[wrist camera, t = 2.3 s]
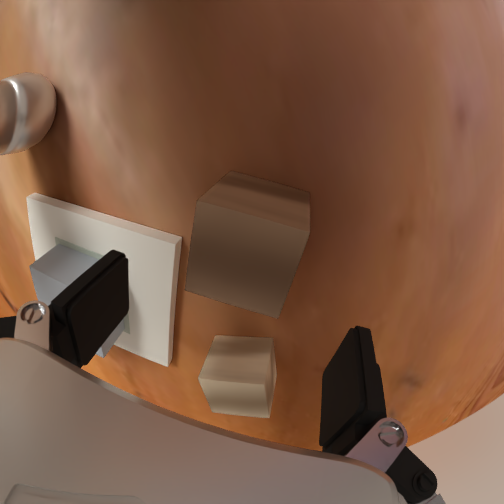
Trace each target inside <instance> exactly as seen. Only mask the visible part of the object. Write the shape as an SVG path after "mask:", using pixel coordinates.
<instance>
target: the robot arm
mask: <svg viewBox="0 0 504 504" xmlns="http://www.w3.org/2000/svg"><path fill="white" fill-rule="evenodd" d="M128 311H129V271H128V258H126V255H125V254H124V253H122V252H119V251H116V250H111V251H109V252H108V253H107V254H106V255H104V256H103V257H102V258H101V259H99V260H98V261H97V262H96V263H95V264H93V265H92V266H91V267H90V268H88V269H87V270H86V271H85V272H84V273H83V274H81V275H80V276H79V277H78V278H77V279H76V280H74V281H73V282H72V283H71V284H70V285H69V286H67V287H66V288H65V289H64V290H63V291H62V292H61V293H60V294H58V295H57V296H56V297H55V298H54V299H53V300H52V301H51V304H50V305H49V306H47V305H46V304H45V303H44V302H41V301H30V302H27V303H25V304H24V305H22V306H21V307H20V309H19V310H18V313H17V316H11V317H4V318H0V504H445V502H444V500H443V498H442V496H441V495H440V494H438V495H437V494H436V493H435V491H436V489H437V479H436V476H435V474H434V473H433V472H432V471H431V470H430V469H429V468H428V467H427V466H426V465H425V464H424V463H423V462H422V461H421V460H420V459H419V458H418V457H417V456H416V455H415V454H413V453H412V452H411V451H410V450H409V449H408V448H407V447H406V446H405V445H406V443H407V438H408V436H407V431H406V429H405V427H404V426H403V425H402V424H401V423H400V422H399V421H397V420H396V419H393V418H387V415H386V407H385V399H384V392H383V385H382V378H381V372H380V367H379V365H378V364H377V363H376V358H375V352H374V346H373V341H372V335H371V331H370V329H368V328H364V327H360V326H356V327H355V328H350V330H349V331H348V333H347V335H346V336H345V338H344V340H343V341H342V343H341V345H340V346H339V348H338V350H337V351H336V353H335V354H334V356H333V358H332V359H331V361H330V362H329V364H328V366H327V367H326V369H325V371H324V373H323V378H322V404H321V423H320V438H319V445H320V446H323V450H322V452H321V451H315V450H309V449H304V448H299V447H294V446H289V445H284V444H280V443H275V442H271V441H266V440H262V439H258V438H254V437H250V436H246V435H243V434H239V433H235V432H232V431H228V430H225V429H222V428H219V427H215V426H212V425H209V424H206V423H203V422H200V421H197V420H194V419H191V418H189V417H186V416H183V415H180V414H178V413H175V412H172V411H170V410H167V409H165V408H162V407H160V406H157V405H155V404H153V403H150V402H148V401H145V400H143V399H141V398H139V397H136V396H134V395H132V394H130V393H128V392H125V391H123V390H121V389H119V388H117V387H115V386H113V385H111V384H109V383H107V382H105V381H103V380H101V379H99V378H97V377H95V376H94V375H92V374H90V373H88V372H86V371H84V370H82V369H81V367H82V366H83V365H87V364H88V363H89V361H90V360H91V359H92V358H93V356H94V355H95V354H96V352H97V351H98V350H99V349H100V347H101V346H102V345H103V343H104V342H105V341H106V340H107V338H108V337H109V336H110V335H111V333H112V332H113V331H114V330H115V328H116V327H117V326H118V325H119V323H120V322H121V321H122V320H123V319H124V317H125V316H126V315H127V313H128Z"/></svg>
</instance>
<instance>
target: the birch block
mask: <svg viewBox="0 0 504 504" xmlns="http://www.w3.org/2000/svg"><path fill="white" fill-rule="evenodd" d="M276 378H277V370H276V360H275V351H274V341H273V338H268V337H242V336H223V335H215V337H214V340H213V342H212V345H211V347H210V350H209V352H208V355H207V357H206V359H205V362H204V364H203V367H202V369H201V372H200V374H199V377H198V380H199V382H200V384H201V387H202V389H203V392H204V394H205V396H206V399H207V401H208V403H209V406H210V408H211V410H212V412H215V413H223V414H231V415H239V416H249V417H261V418H270V413H271V407H272V401H273V396H274V390H275V384H276Z"/></svg>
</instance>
